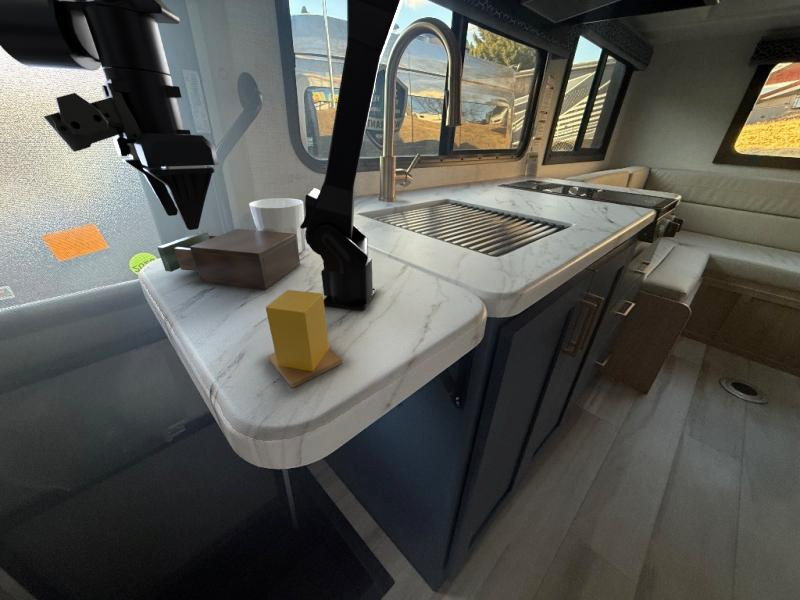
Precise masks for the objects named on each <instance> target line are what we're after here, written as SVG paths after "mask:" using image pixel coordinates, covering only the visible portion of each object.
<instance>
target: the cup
mask: <svg viewBox="0 0 800 600" xmlns="http://www.w3.org/2000/svg"><path fill="white" fill-rule="evenodd" d="M248 206H249V209H250V213H251V216H252V219H253V222H254V226H255V228H256V229H255V230H258V231H270V232H282V233H294V234H296V238H297V245H298V252H299V254H300V253H301V252H303V251H305V250H306V238H305V231H306V230H305V228H303V229H301V228H300V226H301V225H302V223H303V222H304V218H305V211H304V210H305V208H304V201H303V200H302V199H298V198H291V197H275V198H274V197H273V198H264V199H263V198H262V199H258V200H253V201H251V202H249V203H248Z"/></svg>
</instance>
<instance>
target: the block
mask: <svg viewBox="0 0 800 600" xmlns="http://www.w3.org/2000/svg"><path fill="white" fill-rule="evenodd" d="M265 311H266V312H265V313H266V316H267V322H268V326H269V331H270V335H271V340H272V344H273V349H274V353H275V354H276V359H277V364H278V366H283V367H289V368H295V369H301V370H307V371H314V369H315V368H316V366H317V365H318V364H319V362H320V361H321V359H322V358H323V356H324V355H325V354H326V352H327V351H328V349H329V348H330V347H329V336H328V328H327V319H326V318H327V317H326V309H325V305H324V293H320V292H312V291H303V290H297V289H296V290H295V289H286V290H285V291H284V292H282V293H281V294H280V295H279V296H278V297H276V298H275V299H274V300H272V301H271V302H270V303H269V304H268V305H266V307H265Z"/></svg>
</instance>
